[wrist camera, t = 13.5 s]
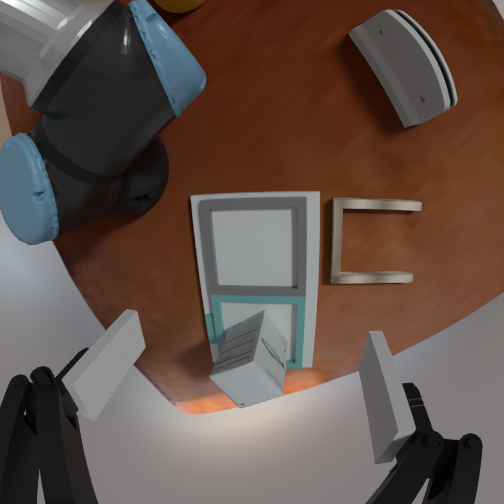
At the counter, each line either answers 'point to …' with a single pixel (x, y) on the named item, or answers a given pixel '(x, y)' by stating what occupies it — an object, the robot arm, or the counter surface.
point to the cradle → (335, 273)
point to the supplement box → (252, 361)
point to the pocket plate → (260, 264)
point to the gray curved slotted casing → (406, 66)
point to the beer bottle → (179, 5)
